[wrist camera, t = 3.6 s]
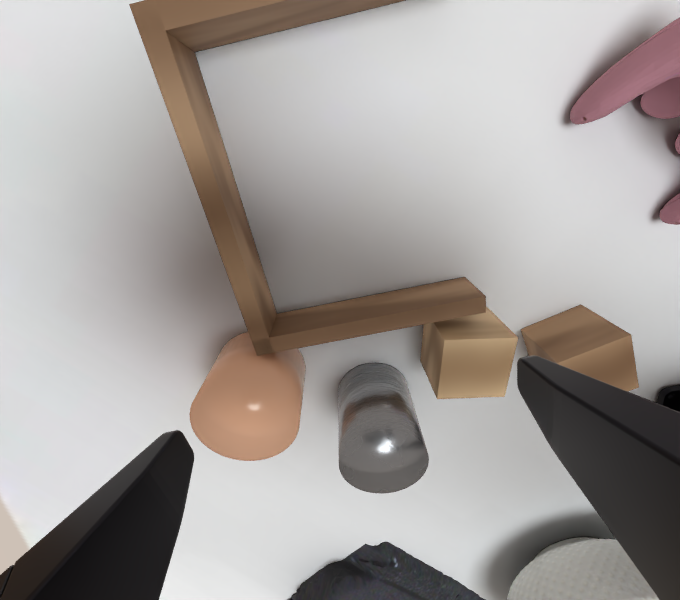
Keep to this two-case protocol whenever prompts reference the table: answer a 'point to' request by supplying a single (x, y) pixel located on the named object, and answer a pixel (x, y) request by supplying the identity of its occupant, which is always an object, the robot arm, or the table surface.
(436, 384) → the oak cube
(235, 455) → the peach cylinder puck
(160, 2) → the frame
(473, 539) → the table surface
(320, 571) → the dark slate chunk
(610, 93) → the video game controller
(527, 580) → the cereal bowl
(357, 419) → the dark tin
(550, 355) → the walnut cube
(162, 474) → the robot arm
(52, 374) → the table surface
